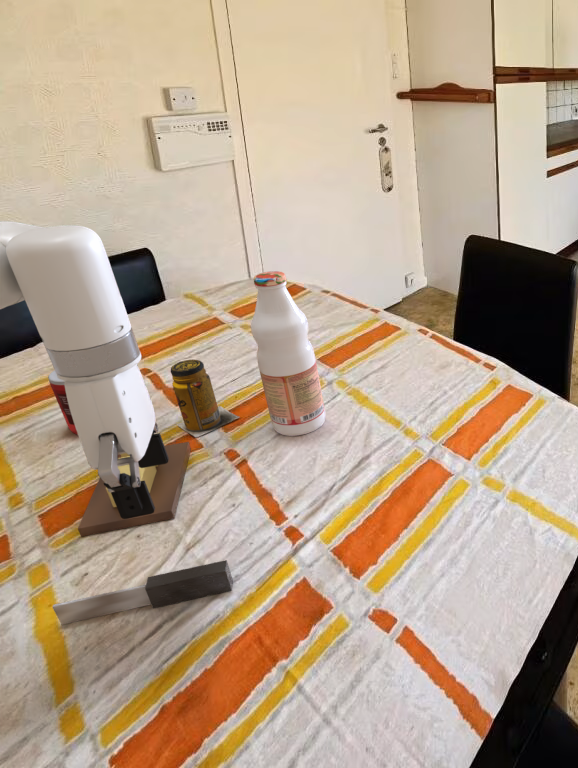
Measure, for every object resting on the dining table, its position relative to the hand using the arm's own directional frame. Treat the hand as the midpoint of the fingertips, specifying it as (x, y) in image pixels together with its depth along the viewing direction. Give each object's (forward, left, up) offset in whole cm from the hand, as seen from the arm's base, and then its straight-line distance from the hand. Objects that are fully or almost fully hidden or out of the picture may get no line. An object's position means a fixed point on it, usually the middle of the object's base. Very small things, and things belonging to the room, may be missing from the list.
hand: (147, 488), depth 71 cm
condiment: (-1, +43, -16) cm, 46 cm away
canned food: (-21, +49, -16) cm, 56 cm away
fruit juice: (+15, +37, -16) cm, 43 cm away
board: (-9, +25, -16) cm, 31 cm away
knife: (-3, -1, -16) cm, 16 cm away
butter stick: (-9, +23, -15) cm, 29 cm away
